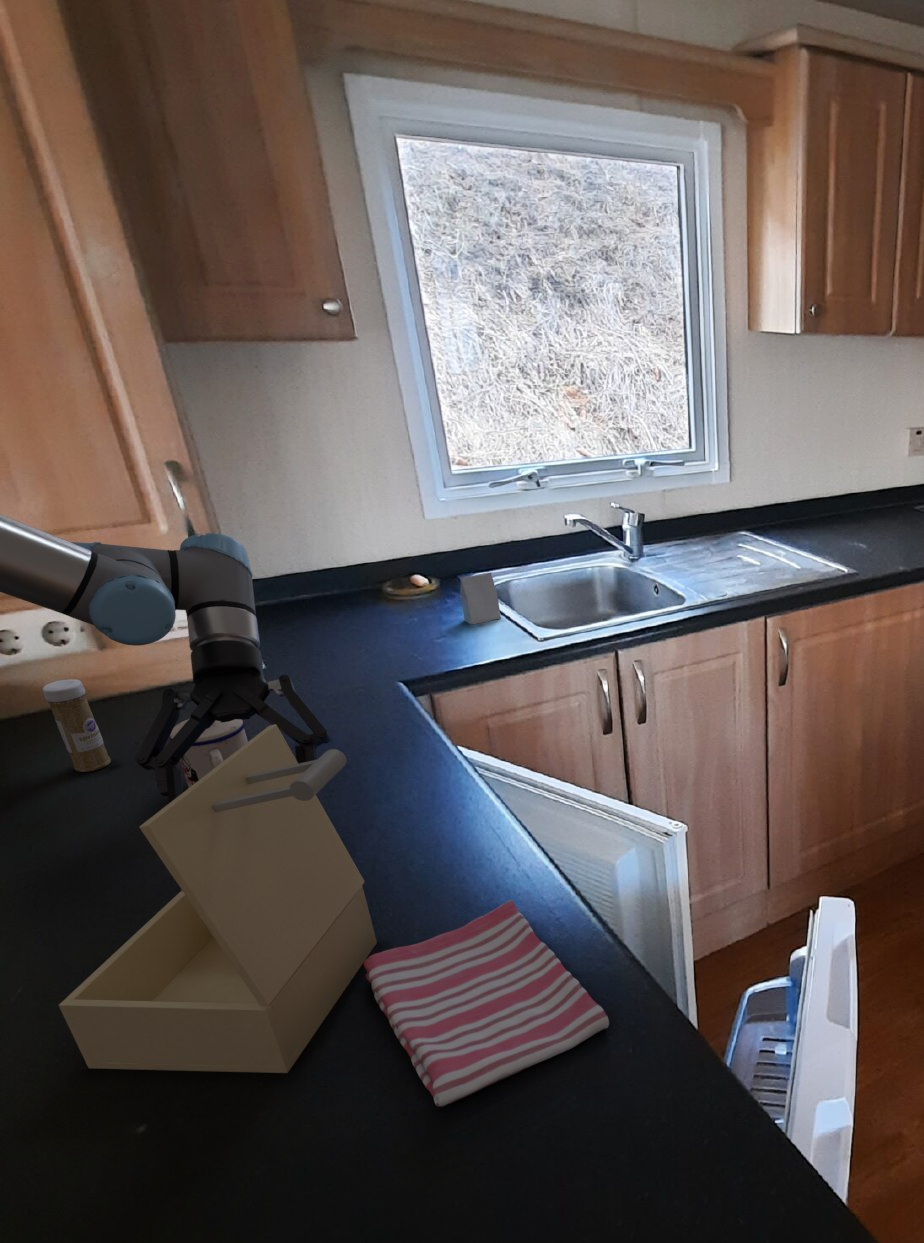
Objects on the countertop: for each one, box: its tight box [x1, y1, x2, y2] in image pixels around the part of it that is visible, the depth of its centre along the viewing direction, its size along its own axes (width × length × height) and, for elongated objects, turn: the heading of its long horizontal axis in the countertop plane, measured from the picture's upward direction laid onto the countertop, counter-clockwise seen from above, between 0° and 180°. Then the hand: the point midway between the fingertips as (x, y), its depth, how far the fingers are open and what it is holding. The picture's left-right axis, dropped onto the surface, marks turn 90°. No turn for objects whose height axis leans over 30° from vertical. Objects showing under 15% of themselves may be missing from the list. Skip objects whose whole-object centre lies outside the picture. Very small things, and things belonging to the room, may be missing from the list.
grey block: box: [459, 572, 502, 625], centre depth 194 cm, size 4×7×10 cm, turn 131°
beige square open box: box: [58, 885, 378, 1074], centre depth 89 cm, size 19×19×8 cm
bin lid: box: [139, 724, 365, 1007], centre depth 82 cm, size 19×19×10 cm
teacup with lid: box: [169, 717, 249, 788], centre depth 126 cm, size 12×9×12 cm
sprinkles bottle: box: [41, 678, 112, 773], centre depth 130 cm, size 5×5×14 cm
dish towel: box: [363, 899, 610, 1108], centre depth 90 cm, size 17×23×4 cm
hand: (243, 809), depth 107 cm, fingers open, 13 cm apart
